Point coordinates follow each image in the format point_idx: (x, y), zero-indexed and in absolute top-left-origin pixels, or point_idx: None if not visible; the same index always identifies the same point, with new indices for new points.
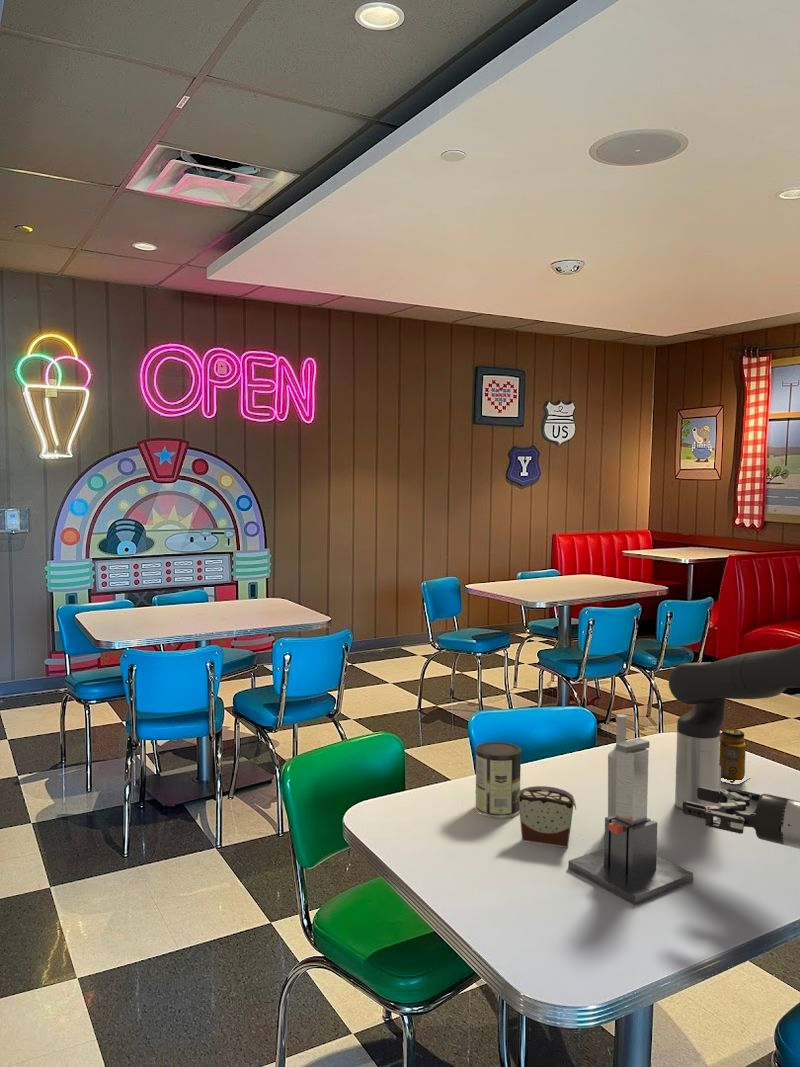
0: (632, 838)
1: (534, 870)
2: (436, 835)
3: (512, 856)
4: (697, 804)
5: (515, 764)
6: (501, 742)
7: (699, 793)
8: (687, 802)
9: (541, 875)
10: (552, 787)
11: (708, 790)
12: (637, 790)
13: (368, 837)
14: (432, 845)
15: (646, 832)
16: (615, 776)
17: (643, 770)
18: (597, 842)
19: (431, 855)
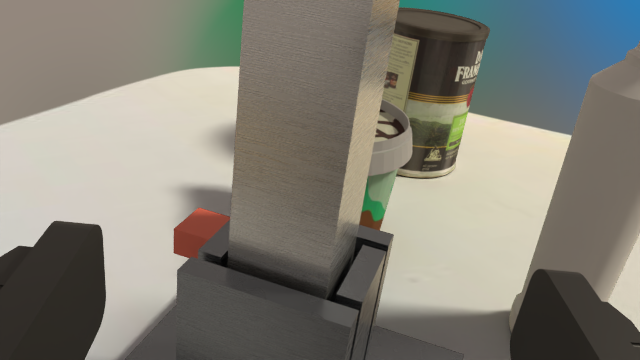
0: (179, 302)
1: (151, 242)
2: (219, 123)
3: (203, 203)
4: (2, 302)
5: (428, 56)
6: (475, 21)
7: (529, 319)
8: (44, 236)
9: (129, 257)
10: (404, 113)
11: (579, 340)
12: (270, 111)
13: (153, 82)
14: (173, 125)
15: (267, 328)
16: (572, 151)
17: (329, 12)
18: (426, 309)
19: (129, 130)
